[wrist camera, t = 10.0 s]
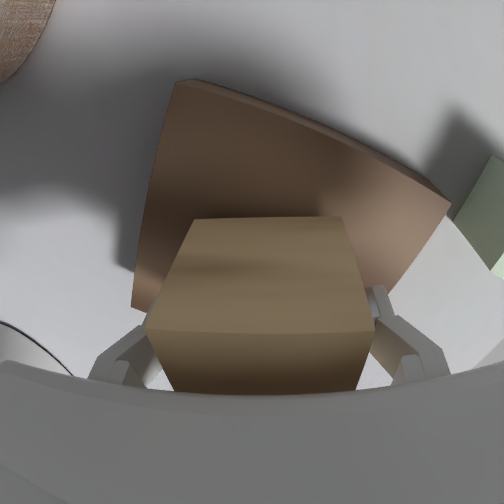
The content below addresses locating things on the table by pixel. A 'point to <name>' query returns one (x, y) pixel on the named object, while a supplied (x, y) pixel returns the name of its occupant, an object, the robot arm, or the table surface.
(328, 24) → the table surface
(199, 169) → the base plate
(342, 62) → the table surface
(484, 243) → the green cube
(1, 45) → the planter
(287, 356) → the oak cube
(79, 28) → the table surface
